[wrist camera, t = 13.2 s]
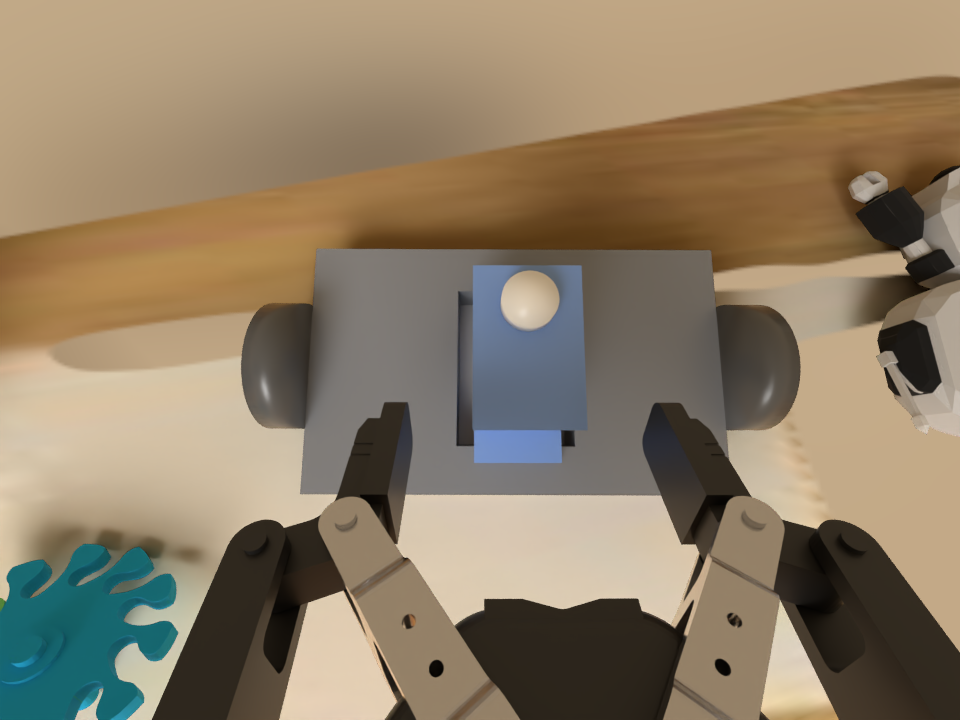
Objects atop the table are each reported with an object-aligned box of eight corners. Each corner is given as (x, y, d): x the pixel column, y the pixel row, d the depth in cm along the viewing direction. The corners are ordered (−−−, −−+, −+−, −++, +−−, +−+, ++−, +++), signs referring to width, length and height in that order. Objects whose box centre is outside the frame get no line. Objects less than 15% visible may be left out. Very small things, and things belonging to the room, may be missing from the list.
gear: (223, 581, 20) (-46, 900, 13) (247, 634, 24) (47, 909, 16) (50, 500, 22) (-275, 730, 15) (95, 560, 26) (-149, 771, 18)
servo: (550, 458, 22) (595, 477, 14) (474, 457, 22) (471, 477, 14) (546, 293, 24) (585, 216, 15) (475, 293, 24) (472, 216, 15)
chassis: (729, 486, 23) (817, 508, 17) (293, 485, 23) (227, 505, 17) (710, 271, 25) (784, 222, 19) (308, 270, 25) (254, 220, 19)
